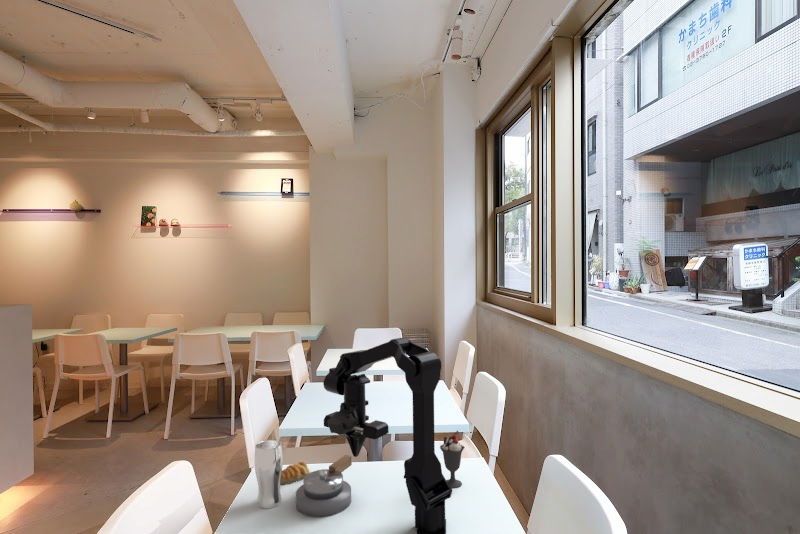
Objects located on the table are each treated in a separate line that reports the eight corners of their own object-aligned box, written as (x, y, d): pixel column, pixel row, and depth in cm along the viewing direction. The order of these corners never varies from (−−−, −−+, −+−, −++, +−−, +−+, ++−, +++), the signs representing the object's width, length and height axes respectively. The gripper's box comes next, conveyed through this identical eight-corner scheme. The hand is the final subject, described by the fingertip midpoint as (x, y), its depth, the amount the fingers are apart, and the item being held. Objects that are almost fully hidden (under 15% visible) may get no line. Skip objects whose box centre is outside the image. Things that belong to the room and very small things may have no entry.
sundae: (465, 490, 124) (463, 434, 124) (439, 489, 126) (438, 433, 125) (465, 479, 131) (464, 425, 131) (441, 477, 132) (440, 424, 132)
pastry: (282, 489, 128) (282, 475, 128) (270, 481, 133) (270, 468, 133) (312, 477, 135) (311, 464, 135) (299, 470, 140) (299, 457, 140)
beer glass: (249, 506, 119) (248, 447, 119) (269, 493, 125) (267, 437, 125) (270, 512, 116) (268, 451, 116) (289, 499, 122) (287, 441, 122)
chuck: (328, 502, 113) (328, 482, 113) (295, 494, 118) (295, 475, 118) (364, 473, 128) (363, 456, 128) (333, 467, 133) (333, 450, 133)
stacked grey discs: (356, 489, 126) (355, 478, 126) (344, 518, 112) (344, 505, 112) (305, 488, 128) (305, 477, 128) (288, 516, 114) (287, 503, 114)
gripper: (308, 400, 125) (309, 458, 125) (361, 412, 114) (362, 476, 114) (337, 390, 134) (338, 445, 134) (389, 400, 123) (390, 460, 123)
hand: (355, 456), depth 126 cm, fingers closed
